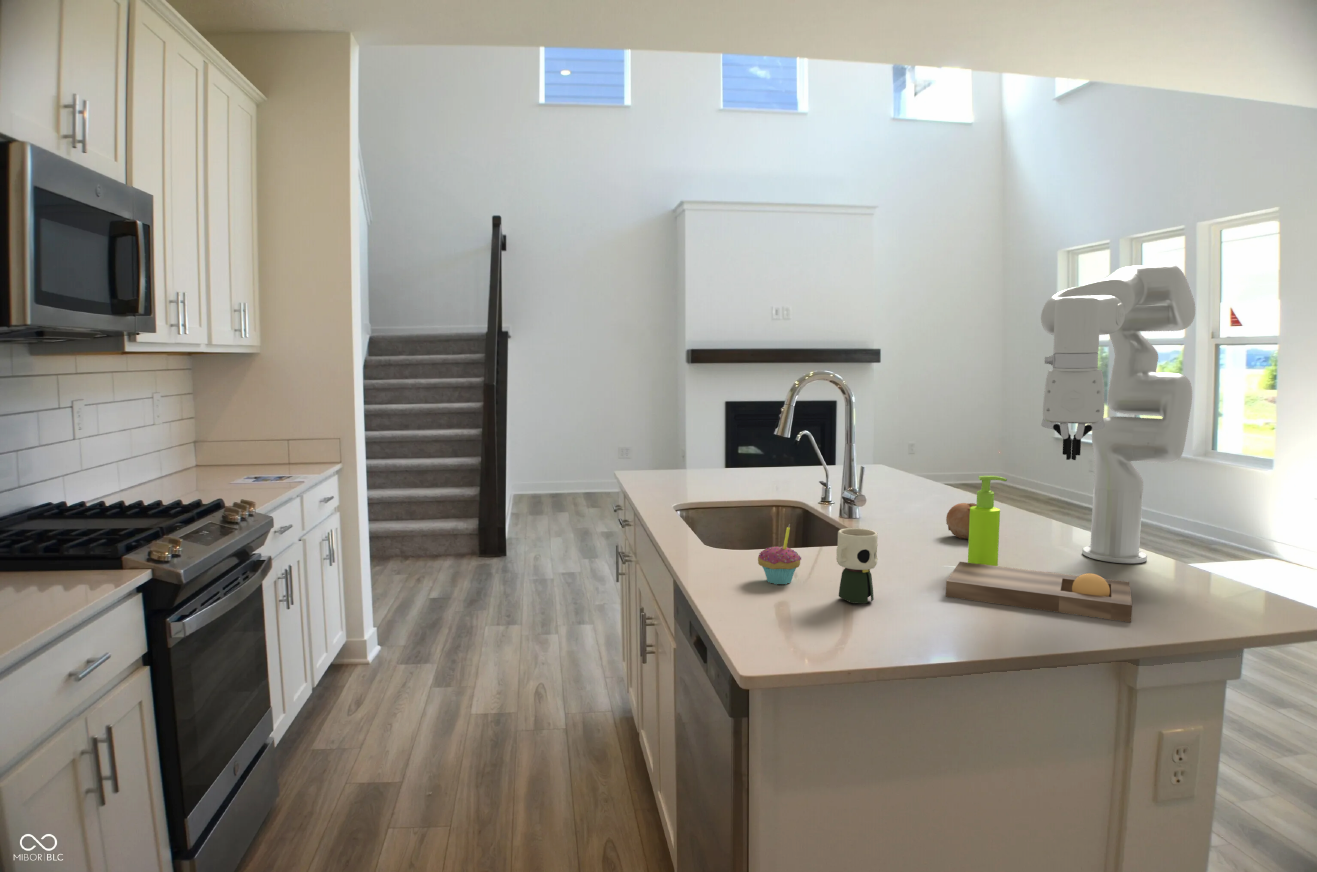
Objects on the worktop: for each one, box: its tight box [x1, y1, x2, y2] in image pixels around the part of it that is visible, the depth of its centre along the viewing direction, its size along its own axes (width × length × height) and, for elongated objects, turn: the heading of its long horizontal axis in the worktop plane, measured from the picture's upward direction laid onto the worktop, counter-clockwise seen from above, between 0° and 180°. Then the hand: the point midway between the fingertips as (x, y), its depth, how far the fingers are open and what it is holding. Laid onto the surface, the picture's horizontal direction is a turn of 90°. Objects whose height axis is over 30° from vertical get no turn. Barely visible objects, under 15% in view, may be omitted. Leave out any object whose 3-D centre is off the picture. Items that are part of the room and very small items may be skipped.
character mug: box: [836, 527, 879, 604], centre depth 145 cm, size 11×7×13 cm, turn 127°
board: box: [945, 561, 1133, 623], centre depth 148 cm, size 16×30×3 cm, turn 61°
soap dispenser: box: [967, 475, 1008, 566], centre depth 166 cm, size 6×7×20 cm
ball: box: [1072, 572, 1110, 597], centre depth 142 cm, size 6×6×6 cm
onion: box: [945, 502, 977, 540], centre depth 196 cm, size 10×9×10 cm
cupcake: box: [757, 523, 802, 585], centre depth 158 cm, size 9×8×12 cm
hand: (1071, 458), depth 151 cm, fingers closed
